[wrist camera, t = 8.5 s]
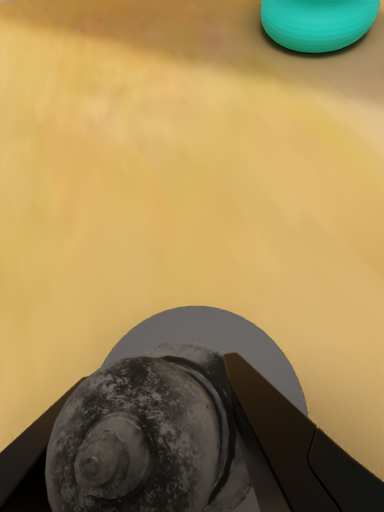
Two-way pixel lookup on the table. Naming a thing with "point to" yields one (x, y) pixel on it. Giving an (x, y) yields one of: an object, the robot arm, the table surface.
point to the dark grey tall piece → (149, 437)
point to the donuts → (317, 22)
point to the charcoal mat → (220, 336)
